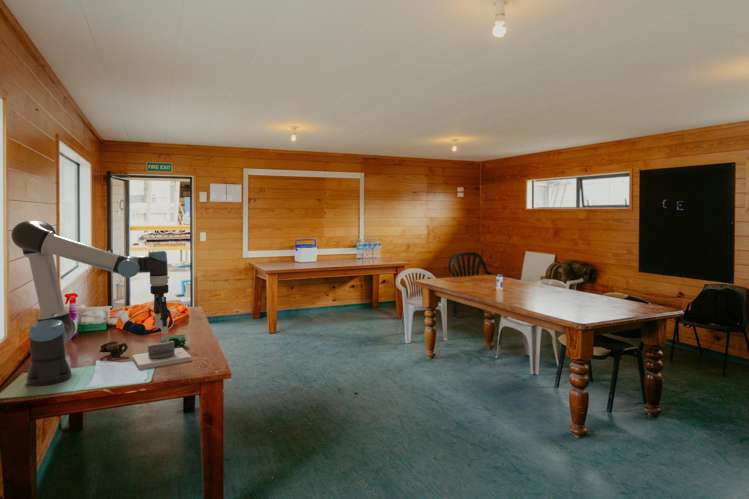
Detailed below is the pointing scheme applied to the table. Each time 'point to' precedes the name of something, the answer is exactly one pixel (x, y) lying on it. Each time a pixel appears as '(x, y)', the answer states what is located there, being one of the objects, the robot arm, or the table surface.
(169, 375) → the table surface
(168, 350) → the dial
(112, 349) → the pottery mug
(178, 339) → the clamp
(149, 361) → the dial board
